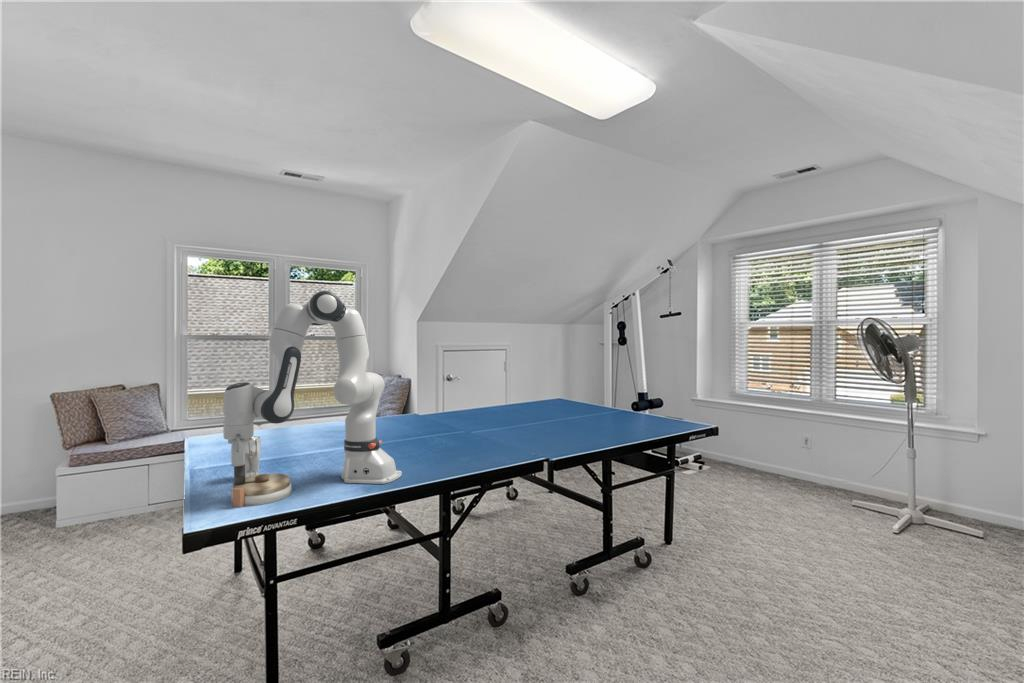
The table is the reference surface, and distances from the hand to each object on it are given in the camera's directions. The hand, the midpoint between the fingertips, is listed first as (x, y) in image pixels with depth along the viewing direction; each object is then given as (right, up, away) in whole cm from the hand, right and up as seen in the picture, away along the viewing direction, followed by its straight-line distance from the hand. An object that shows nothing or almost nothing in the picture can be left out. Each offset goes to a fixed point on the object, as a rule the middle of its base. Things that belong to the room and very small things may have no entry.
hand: (239, 472), depth 167 cm
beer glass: (-7, -7, +20) cm, 22 cm away
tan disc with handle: (+8, -5, 0) cm, 9 cm away
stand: (+8, -8, 0) cm, 11 cm away
